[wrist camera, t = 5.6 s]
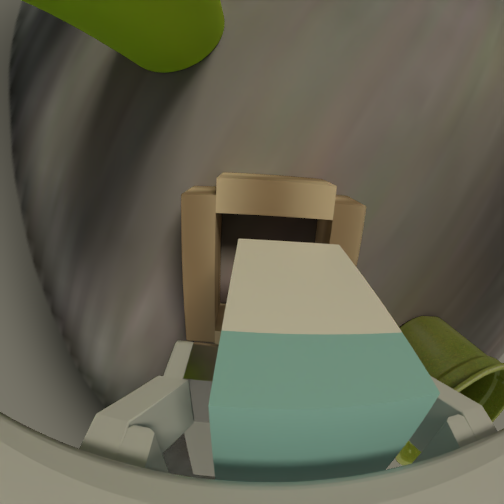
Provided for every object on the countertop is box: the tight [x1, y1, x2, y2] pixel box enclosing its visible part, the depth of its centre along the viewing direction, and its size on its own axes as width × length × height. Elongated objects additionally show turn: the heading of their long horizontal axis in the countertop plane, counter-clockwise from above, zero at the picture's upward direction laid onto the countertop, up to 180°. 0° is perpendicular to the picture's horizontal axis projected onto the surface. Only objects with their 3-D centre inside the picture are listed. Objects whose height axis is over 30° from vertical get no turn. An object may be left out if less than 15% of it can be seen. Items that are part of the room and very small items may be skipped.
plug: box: [208, 239, 440, 482], centre depth 9 cm, size 4×5×8 cm
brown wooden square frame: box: [181, 172, 366, 344], centre depth 16 cm, size 9×10×3 cm
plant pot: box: [395, 316, 504, 465], centre depth 16 cm, size 9×9×9 cm
